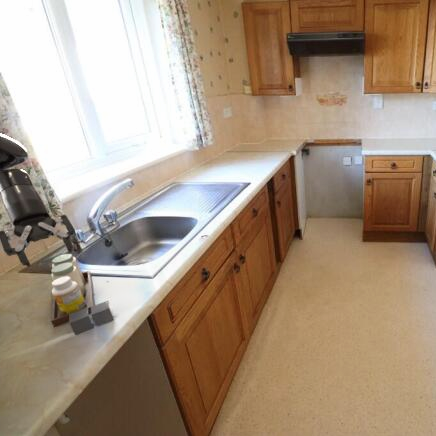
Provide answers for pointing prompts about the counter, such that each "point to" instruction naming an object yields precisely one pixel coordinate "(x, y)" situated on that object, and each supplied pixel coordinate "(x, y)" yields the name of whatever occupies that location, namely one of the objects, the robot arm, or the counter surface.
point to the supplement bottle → (67, 295)
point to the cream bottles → (68, 270)
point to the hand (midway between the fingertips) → (50, 258)
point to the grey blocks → (84, 319)
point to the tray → (60, 319)
